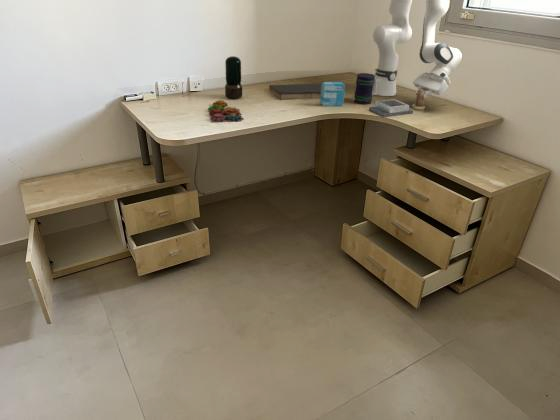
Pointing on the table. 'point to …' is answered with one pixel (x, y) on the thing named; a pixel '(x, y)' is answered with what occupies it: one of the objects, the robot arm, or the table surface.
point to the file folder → (296, 91)
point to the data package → (332, 93)
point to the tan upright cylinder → (419, 100)
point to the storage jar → (364, 88)
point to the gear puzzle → (224, 113)
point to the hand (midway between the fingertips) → (419, 95)
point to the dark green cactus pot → (233, 78)
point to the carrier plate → (390, 108)
